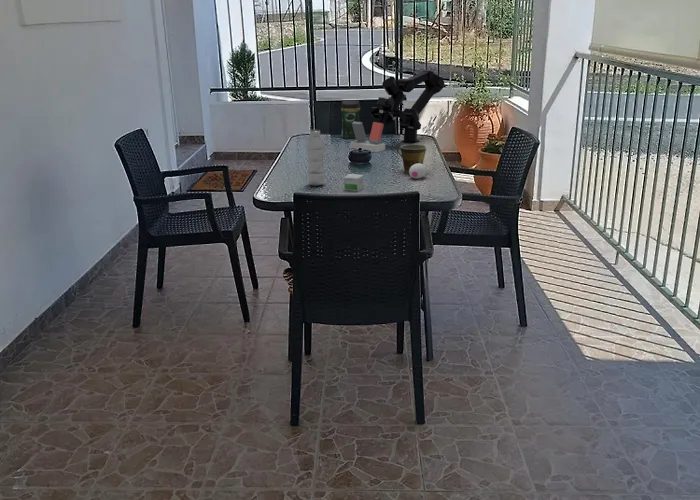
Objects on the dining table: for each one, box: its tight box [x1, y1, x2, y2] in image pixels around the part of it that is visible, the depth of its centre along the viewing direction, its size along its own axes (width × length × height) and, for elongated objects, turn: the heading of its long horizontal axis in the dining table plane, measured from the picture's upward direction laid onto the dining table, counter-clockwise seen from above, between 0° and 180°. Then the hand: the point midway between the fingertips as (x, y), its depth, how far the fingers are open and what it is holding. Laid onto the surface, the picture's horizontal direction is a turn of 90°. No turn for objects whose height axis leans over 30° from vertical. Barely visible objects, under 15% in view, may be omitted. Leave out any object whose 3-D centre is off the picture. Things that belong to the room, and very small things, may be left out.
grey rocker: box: [352, 121, 368, 142], centre depth 297 cm, size 2×5×9 cm, turn 47°
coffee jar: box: [340, 99, 361, 140], centre depth 323 cm, size 10×8×19 cm
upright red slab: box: [368, 121, 384, 144], centre depth 294 cm, size 2×5×9 cm, turn 47°
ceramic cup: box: [396, 143, 427, 175], centre depth 254 cm, size 13×10×10 cm
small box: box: [343, 173, 365, 192], centre depth 231 cm, size 6×6×5 cm
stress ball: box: [409, 163, 427, 181], centre depth 245 cm, size 8×8×7 cm
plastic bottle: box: [306, 129, 326, 187], centre depth 234 cm, size 6×7×20 cm
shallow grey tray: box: [350, 140, 386, 153], centre depth 298 cm, size 7×15×3 cm, turn 47°
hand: (379, 129), depth 295 cm, fingers closed
